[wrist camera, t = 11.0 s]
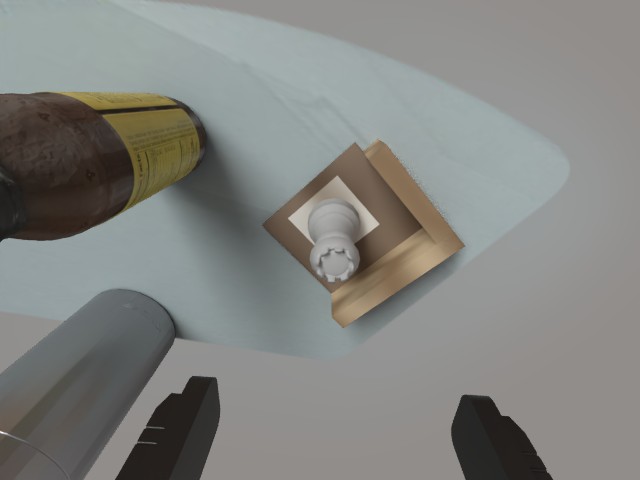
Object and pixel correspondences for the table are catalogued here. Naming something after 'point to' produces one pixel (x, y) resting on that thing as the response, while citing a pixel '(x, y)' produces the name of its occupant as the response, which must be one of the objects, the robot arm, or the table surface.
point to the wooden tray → (370, 228)
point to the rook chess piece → (334, 239)
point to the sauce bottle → (88, 157)
